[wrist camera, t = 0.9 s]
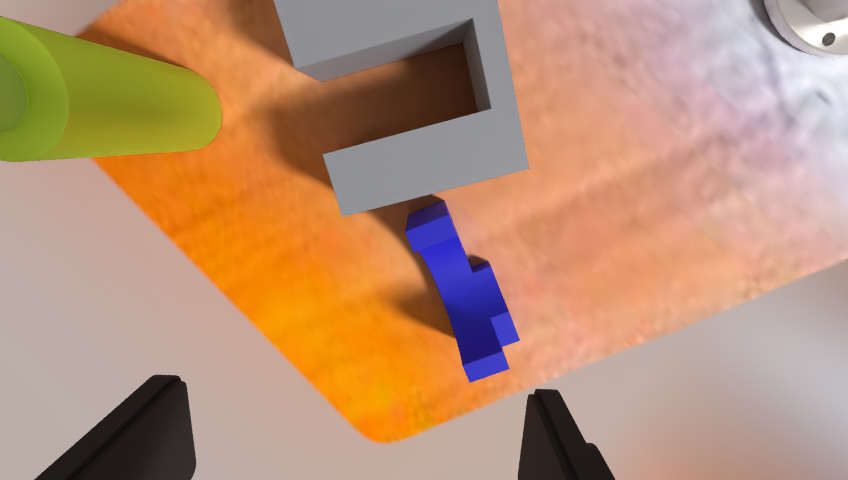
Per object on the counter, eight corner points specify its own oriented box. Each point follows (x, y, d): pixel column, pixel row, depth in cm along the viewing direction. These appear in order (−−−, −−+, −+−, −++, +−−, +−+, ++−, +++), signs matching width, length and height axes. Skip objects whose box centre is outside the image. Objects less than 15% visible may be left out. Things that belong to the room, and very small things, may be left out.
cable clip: (511, 322, 34) (529, 361, 28) (462, 340, 34) (469, 382, 28) (462, 192, 31) (470, 206, 25) (408, 213, 31) (405, 231, 25)
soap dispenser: (119, 123, 29) (-472, 98, 10) (171, 48, 28) (-394, -145, 9) (185, 177, 30) (-237, 249, 11) (238, 107, 29) (-135, 52, 10)
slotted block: (471, -27, 27) (483, -72, 21) (509, 162, 30) (529, 168, 24) (303, 23, 28) (271, -7, 22) (358, 201, 31) (342, 216, 25)
